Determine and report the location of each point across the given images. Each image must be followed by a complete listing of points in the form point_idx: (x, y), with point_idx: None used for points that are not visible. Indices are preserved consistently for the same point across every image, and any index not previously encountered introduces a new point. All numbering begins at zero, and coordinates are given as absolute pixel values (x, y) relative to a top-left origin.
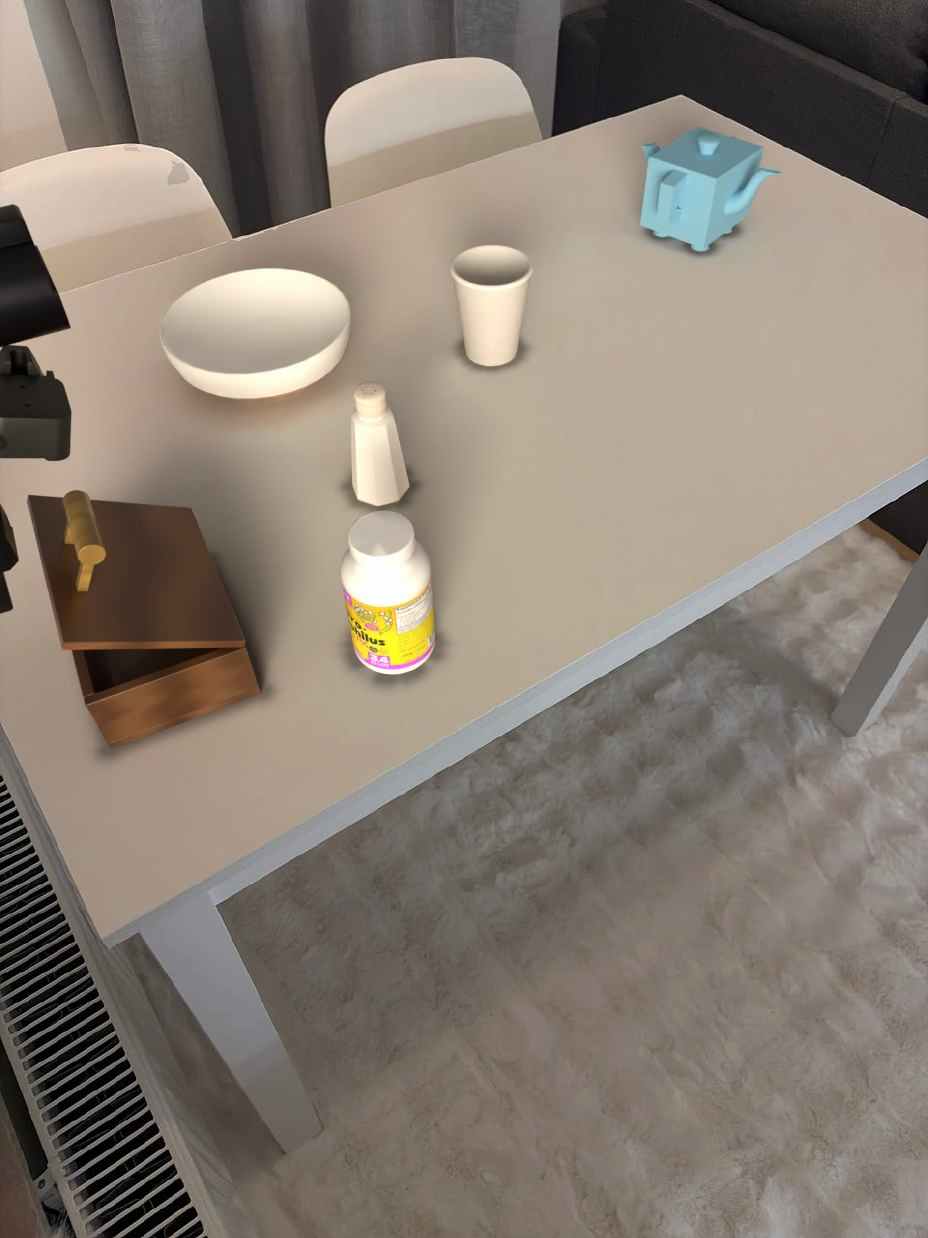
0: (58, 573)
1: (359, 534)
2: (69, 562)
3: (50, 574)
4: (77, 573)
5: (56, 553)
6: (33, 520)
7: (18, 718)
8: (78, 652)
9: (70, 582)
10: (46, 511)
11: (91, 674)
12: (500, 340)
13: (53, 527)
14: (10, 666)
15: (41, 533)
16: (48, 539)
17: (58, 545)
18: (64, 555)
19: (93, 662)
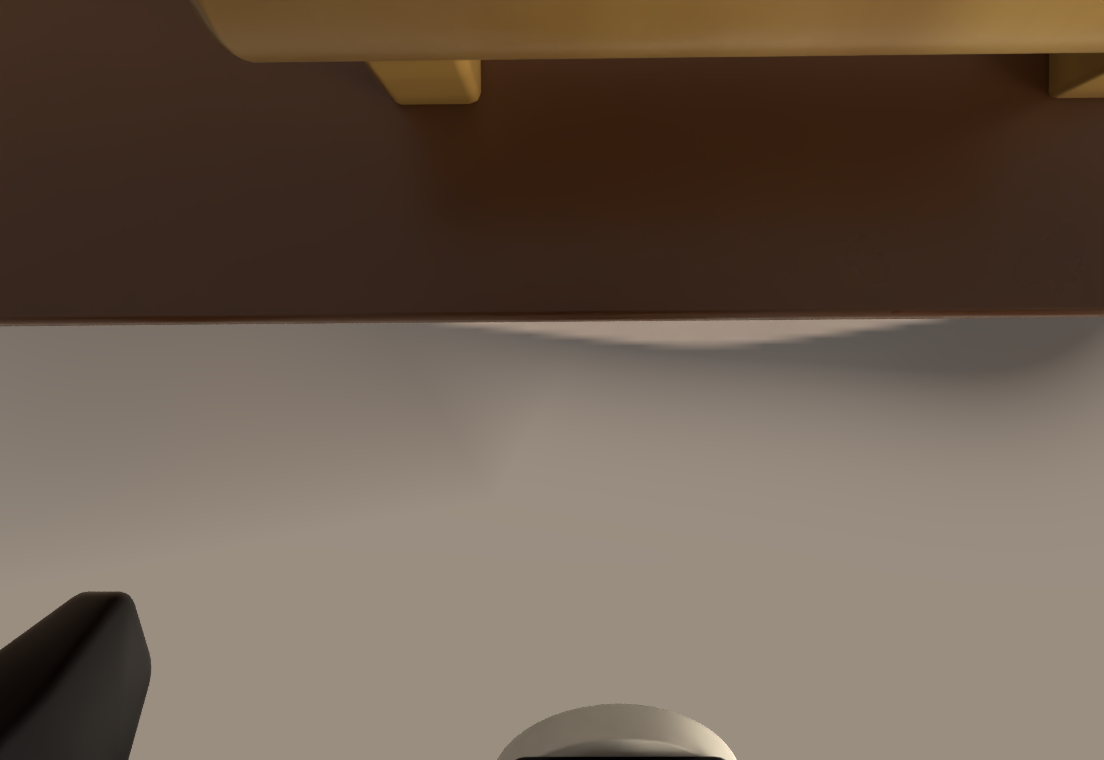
0: (904, 222)
1: None
2: (739, 103)
3: (907, 290)
4: (894, 56)
5: (621, 198)
6: (139, 323)
7: (714, 328)
8: None
9: (1016, 137)
10: (7, 197)
11: None
12: None
13: (238, 168)
14: (468, 325)
15: (340, 286)
16: (425, 239)
17: (502, 163)
18: (643, 132)
19: None
